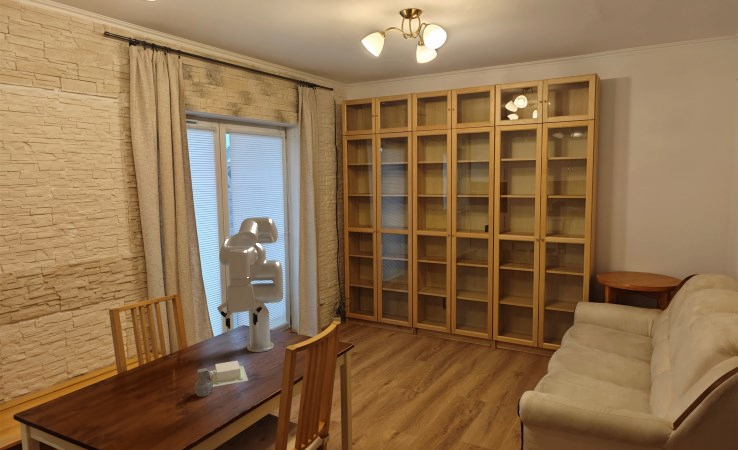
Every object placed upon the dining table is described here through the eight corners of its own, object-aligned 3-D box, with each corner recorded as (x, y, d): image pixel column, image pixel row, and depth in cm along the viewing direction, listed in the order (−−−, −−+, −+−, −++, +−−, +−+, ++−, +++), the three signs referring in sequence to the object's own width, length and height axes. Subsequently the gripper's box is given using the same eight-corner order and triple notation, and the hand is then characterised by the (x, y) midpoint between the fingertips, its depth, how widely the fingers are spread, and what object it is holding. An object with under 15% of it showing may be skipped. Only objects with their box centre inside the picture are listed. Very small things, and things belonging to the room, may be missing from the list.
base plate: (209, 374, 200) (208, 370, 200) (243, 368, 205) (243, 364, 205) (211, 390, 185) (211, 386, 185) (248, 384, 191) (248, 379, 190)
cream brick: (215, 373, 198) (215, 364, 197) (238, 369, 201) (237, 360, 201) (217, 382, 189) (217, 372, 189) (240, 378, 193) (240, 368, 192)
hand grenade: (196, 403, 176) (194, 374, 174) (194, 396, 181) (192, 368, 180) (214, 398, 179) (213, 370, 177) (212, 392, 184) (210, 365, 182)
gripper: (261, 277, 186) (262, 320, 188) (214, 282, 179) (217, 326, 181) (265, 281, 179) (266, 325, 181) (217, 286, 172) (219, 332, 174)
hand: (242, 326), depth 181 cm, fingers open, 9 cm apart
